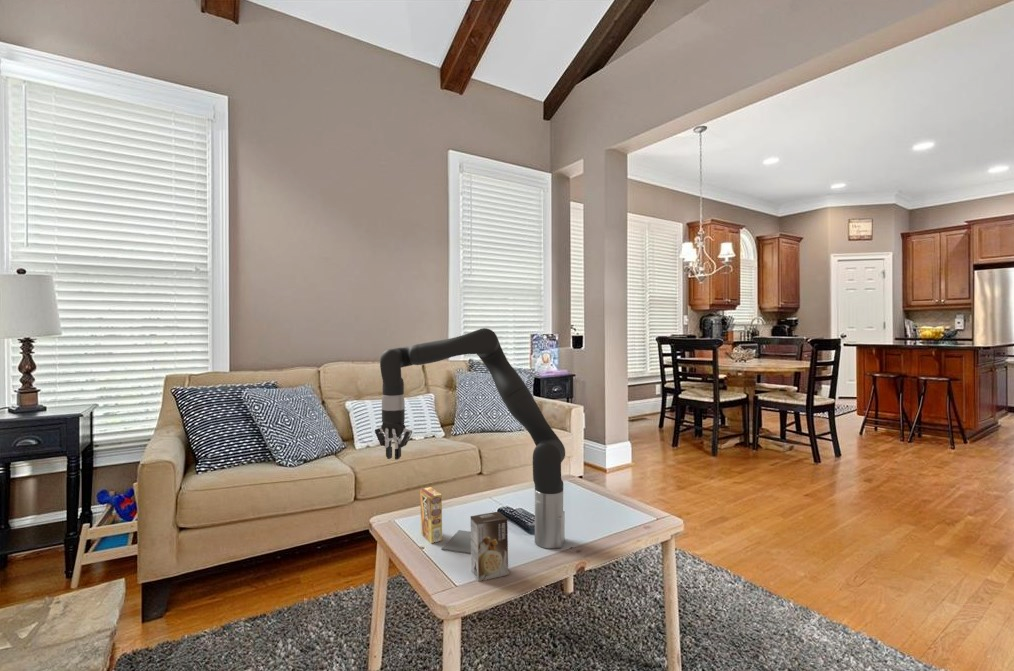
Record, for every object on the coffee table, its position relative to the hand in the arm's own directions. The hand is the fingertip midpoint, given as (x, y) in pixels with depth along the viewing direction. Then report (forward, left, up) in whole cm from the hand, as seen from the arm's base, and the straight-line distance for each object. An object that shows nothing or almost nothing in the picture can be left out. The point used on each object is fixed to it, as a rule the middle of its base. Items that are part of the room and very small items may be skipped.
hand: (393, 458), depth 162 cm
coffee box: (-40, +16, -25) cm, 50 cm away
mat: (-29, 0, -25) cm, 38 cm away
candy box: (-14, 0, -25) cm, 29 cm away
